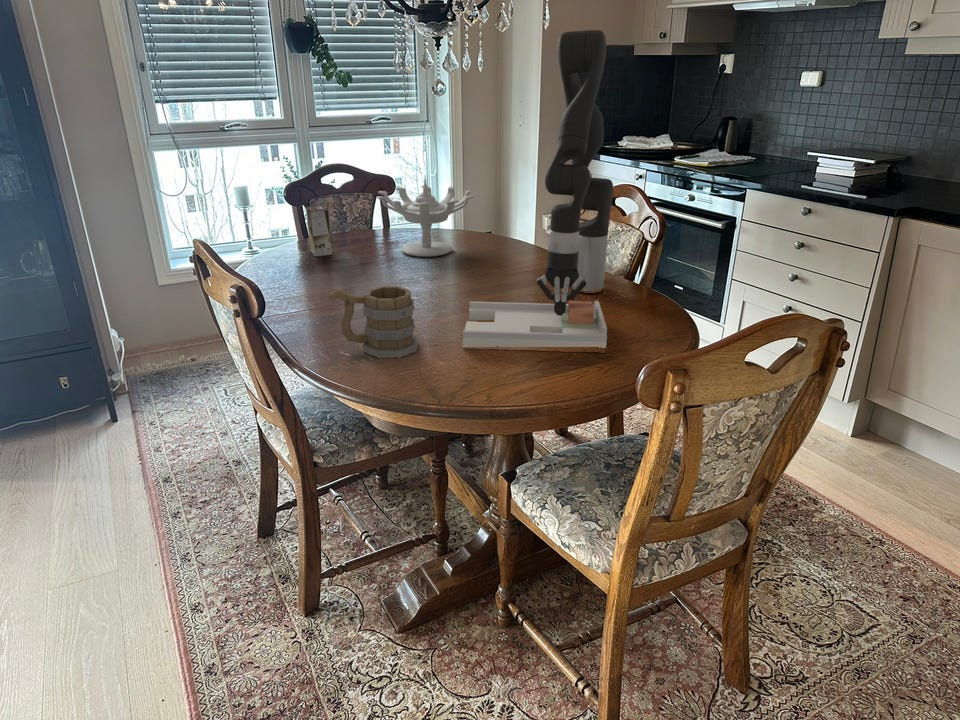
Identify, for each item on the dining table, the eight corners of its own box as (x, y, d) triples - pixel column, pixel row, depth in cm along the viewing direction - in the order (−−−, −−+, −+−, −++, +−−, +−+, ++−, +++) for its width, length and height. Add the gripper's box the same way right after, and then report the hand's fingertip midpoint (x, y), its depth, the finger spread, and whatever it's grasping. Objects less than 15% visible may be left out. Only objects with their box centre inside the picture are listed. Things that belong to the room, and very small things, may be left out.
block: (567, 315, 171) (568, 301, 169) (590, 316, 170) (592, 301, 169) (568, 323, 165) (569, 308, 164) (592, 324, 165) (594, 309, 163)
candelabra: (383, 267, 221) (378, 184, 210) (377, 242, 252) (373, 169, 241) (482, 262, 227) (482, 182, 216) (464, 238, 259) (464, 167, 247)
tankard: (418, 337, 164) (416, 280, 158) (415, 358, 152) (413, 297, 146) (338, 338, 163) (333, 280, 157) (329, 359, 152) (323, 297, 146)
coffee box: (332, 254, 235) (328, 209, 228) (314, 256, 232) (310, 211, 226) (326, 248, 242) (322, 205, 236) (309, 250, 240) (304, 206, 233)
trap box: (470, 317, 178) (470, 296, 175) (596, 320, 176) (598, 299, 173) (462, 349, 158) (462, 325, 155) (605, 353, 156) (607, 330, 153)
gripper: (589, 245, 164) (584, 310, 171) (536, 243, 165) (533, 308, 172) (592, 253, 157) (586, 320, 164) (536, 251, 158) (533, 318, 165)
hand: (559, 314), depth 168 cm, fingers closed
